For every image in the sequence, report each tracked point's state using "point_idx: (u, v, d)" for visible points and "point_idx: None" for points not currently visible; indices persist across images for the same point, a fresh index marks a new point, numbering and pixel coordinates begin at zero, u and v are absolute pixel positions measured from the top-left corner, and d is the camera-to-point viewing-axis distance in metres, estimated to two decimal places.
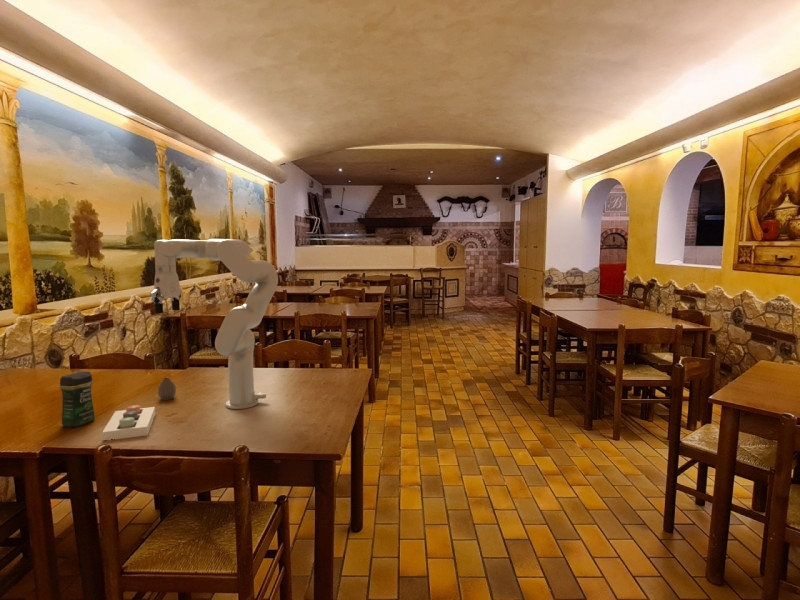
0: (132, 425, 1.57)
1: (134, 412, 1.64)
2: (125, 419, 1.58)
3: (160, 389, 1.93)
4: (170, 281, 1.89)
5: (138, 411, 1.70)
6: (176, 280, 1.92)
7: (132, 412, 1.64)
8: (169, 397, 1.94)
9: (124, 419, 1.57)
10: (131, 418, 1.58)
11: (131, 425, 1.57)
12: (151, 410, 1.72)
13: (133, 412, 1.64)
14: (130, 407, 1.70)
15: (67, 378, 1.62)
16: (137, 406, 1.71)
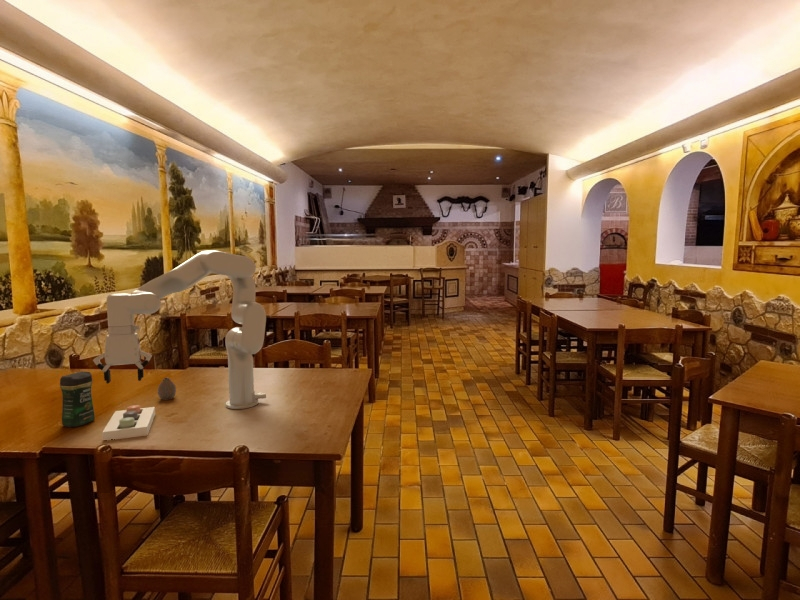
0: (132, 425, 1.57)
1: (134, 412, 1.64)
2: (125, 419, 1.58)
3: (160, 389, 1.93)
4: None
5: (138, 411, 1.70)
6: None
7: (132, 412, 1.64)
8: (169, 397, 1.94)
9: (124, 419, 1.57)
10: (131, 418, 1.58)
11: (131, 425, 1.57)
12: (151, 410, 1.72)
13: (133, 412, 1.64)
14: (130, 407, 1.70)
15: (67, 378, 1.62)
16: (137, 406, 1.71)
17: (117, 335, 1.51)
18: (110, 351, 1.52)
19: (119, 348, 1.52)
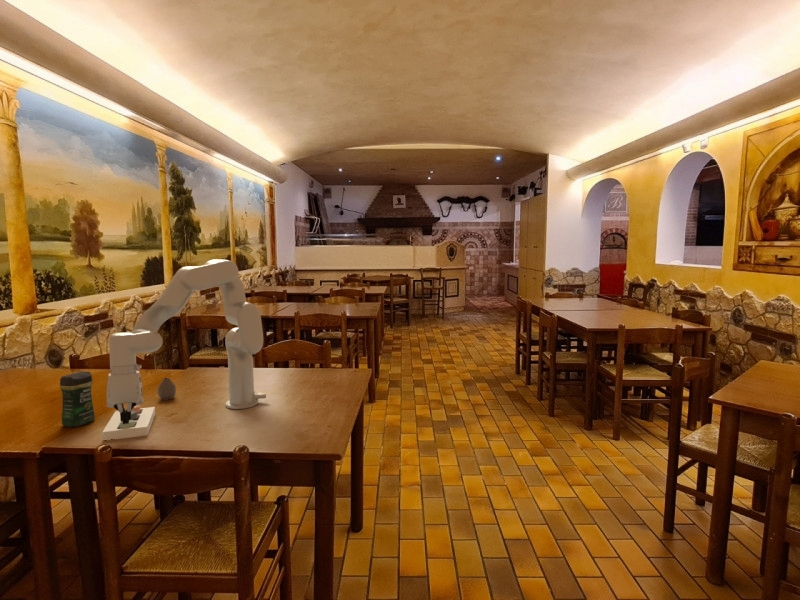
0: None
1: (134, 412, 1.64)
2: None
3: (160, 389, 1.93)
4: None
5: (138, 411, 1.70)
6: None
7: (132, 412, 1.64)
8: (169, 397, 1.94)
9: None
10: (131, 421, 1.58)
11: None
12: (151, 410, 1.72)
13: (133, 412, 1.64)
14: None
15: (67, 378, 1.62)
16: (137, 406, 1.71)
17: (119, 375, 1.52)
18: (112, 390, 1.53)
19: (121, 387, 1.54)
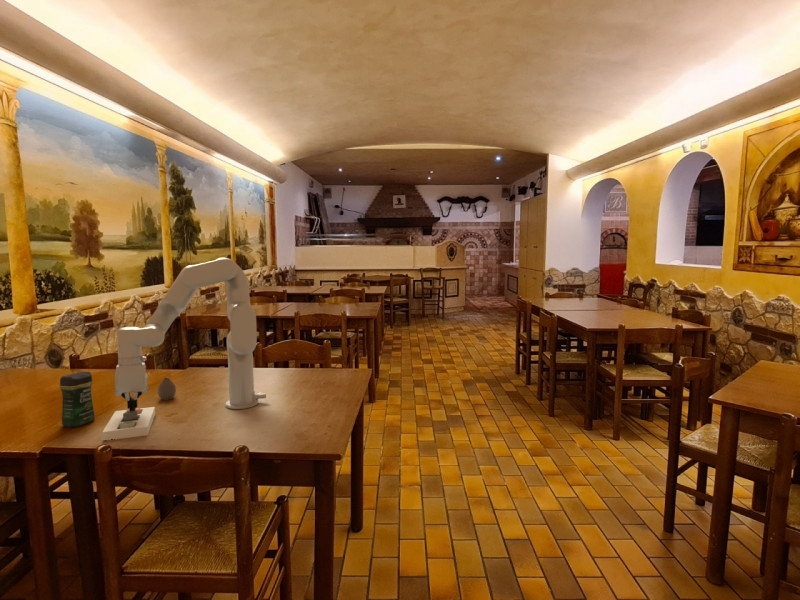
0: None
1: (134, 412, 1.64)
2: (126, 423, 1.58)
3: (160, 389, 1.93)
4: None
5: None
6: None
7: (132, 412, 1.64)
8: (169, 397, 1.94)
9: (124, 423, 1.57)
10: (131, 422, 1.58)
11: None
12: (151, 410, 1.72)
13: (133, 412, 1.64)
14: None
15: (67, 378, 1.62)
16: (137, 409, 1.71)
17: (126, 366, 1.65)
18: (120, 380, 1.66)
19: (128, 377, 1.66)
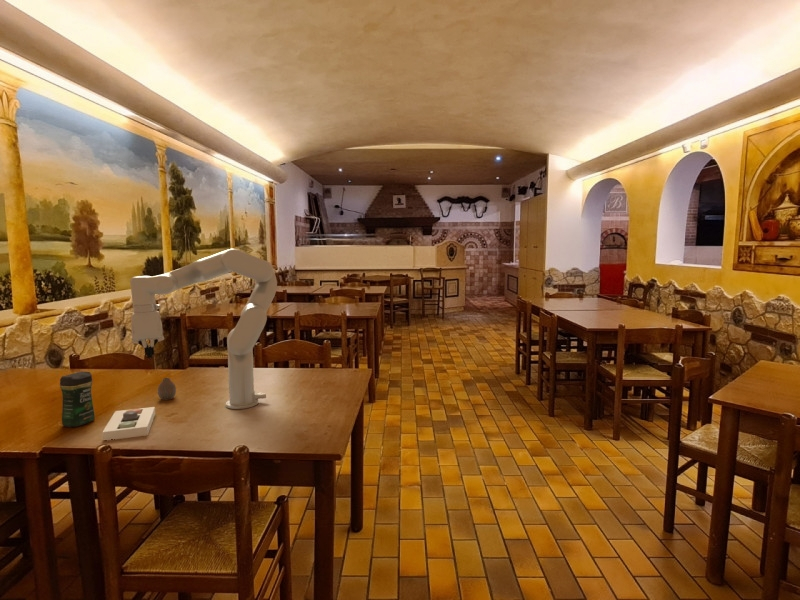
0: None
1: (134, 412, 1.64)
2: (126, 423, 1.58)
3: (160, 389, 1.93)
4: None
5: None
6: None
7: (132, 412, 1.64)
8: (169, 397, 1.94)
9: (124, 423, 1.57)
10: (131, 422, 1.58)
11: None
12: (151, 410, 1.72)
13: (133, 412, 1.64)
14: None
15: (67, 378, 1.62)
16: (137, 410, 1.71)
17: (142, 313, 1.69)
18: (136, 327, 1.70)
19: (144, 324, 1.71)
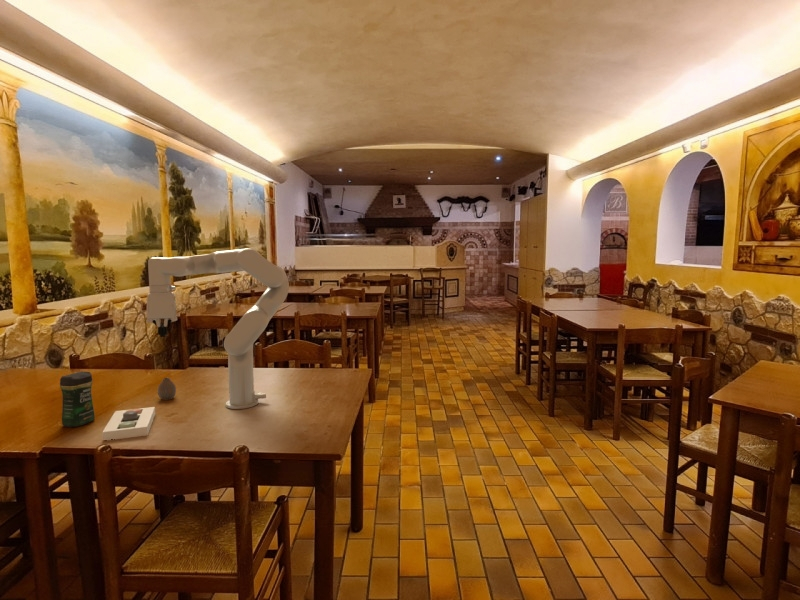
0: None
1: (134, 412, 1.64)
2: (126, 423, 1.58)
3: (160, 389, 1.93)
4: None
5: None
6: None
7: (132, 412, 1.64)
8: (169, 397, 1.94)
9: (124, 423, 1.57)
10: (131, 422, 1.58)
11: None
12: (151, 410, 1.72)
13: (133, 412, 1.64)
14: None
15: (67, 378, 1.62)
16: (137, 410, 1.71)
17: (157, 293, 1.74)
18: (151, 307, 1.75)
19: (159, 304, 1.76)
